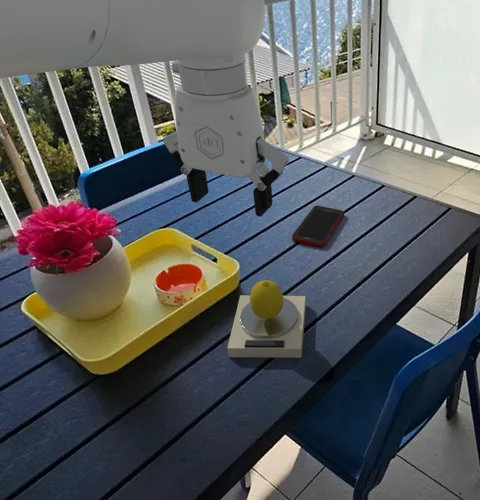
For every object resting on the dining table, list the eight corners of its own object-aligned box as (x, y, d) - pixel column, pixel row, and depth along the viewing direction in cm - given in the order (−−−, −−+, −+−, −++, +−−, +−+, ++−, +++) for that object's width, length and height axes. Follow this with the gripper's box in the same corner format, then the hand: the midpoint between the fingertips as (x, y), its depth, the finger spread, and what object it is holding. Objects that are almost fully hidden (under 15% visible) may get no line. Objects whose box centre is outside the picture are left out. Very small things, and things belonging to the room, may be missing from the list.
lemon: (245, 317, 86) (240, 282, 81) (270, 302, 89) (267, 267, 84) (266, 333, 83) (262, 298, 78) (291, 317, 86) (288, 281, 81)
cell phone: (345, 214, 119) (345, 210, 118) (323, 248, 107) (323, 244, 107) (315, 208, 121) (315, 204, 120) (290, 241, 109) (290, 237, 109)
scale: (301, 357, 83) (300, 345, 81) (228, 357, 83) (226, 344, 81) (305, 304, 93) (305, 292, 92) (241, 304, 93) (239, 291, 91)
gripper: (130, 76, 57) (160, 205, 67) (267, 97, 52) (277, 231, 63) (169, 59, 62) (192, 180, 73) (296, 76, 58) (301, 203, 68)
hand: (231, 204), depth 68 cm, fingers open, 9 cm apart
